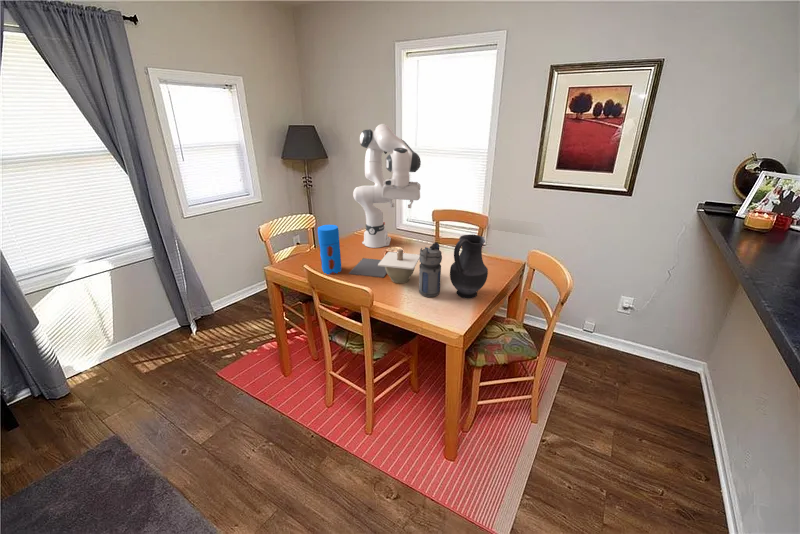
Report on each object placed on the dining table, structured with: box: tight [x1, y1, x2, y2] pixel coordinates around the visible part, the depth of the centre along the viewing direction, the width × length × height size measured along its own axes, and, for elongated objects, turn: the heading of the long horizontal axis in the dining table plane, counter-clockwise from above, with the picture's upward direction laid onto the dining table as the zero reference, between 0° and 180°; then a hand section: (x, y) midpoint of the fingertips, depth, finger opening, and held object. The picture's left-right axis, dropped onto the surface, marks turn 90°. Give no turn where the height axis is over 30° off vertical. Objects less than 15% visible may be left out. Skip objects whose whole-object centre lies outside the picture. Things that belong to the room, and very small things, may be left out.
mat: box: [348, 257, 388, 279], centre depth 196 cm, size 22×20×1 cm
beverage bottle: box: [418, 241, 443, 298], centre depth 163 cm, size 10×13×25 cm
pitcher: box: [449, 234, 489, 300], centre depth 159 cm, size 17×21×30 cm
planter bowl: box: [385, 266, 416, 284], centre depth 179 cm, size 16×16×11 cm
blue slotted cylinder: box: [317, 224, 342, 275], centre depth 188 cm, size 11×11×25 cm
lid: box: [378, 248, 420, 270], centre depth 176 cm, size 18×18×6 cm
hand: (401, 207), depth 184 cm, fingers open, 8 cm apart
